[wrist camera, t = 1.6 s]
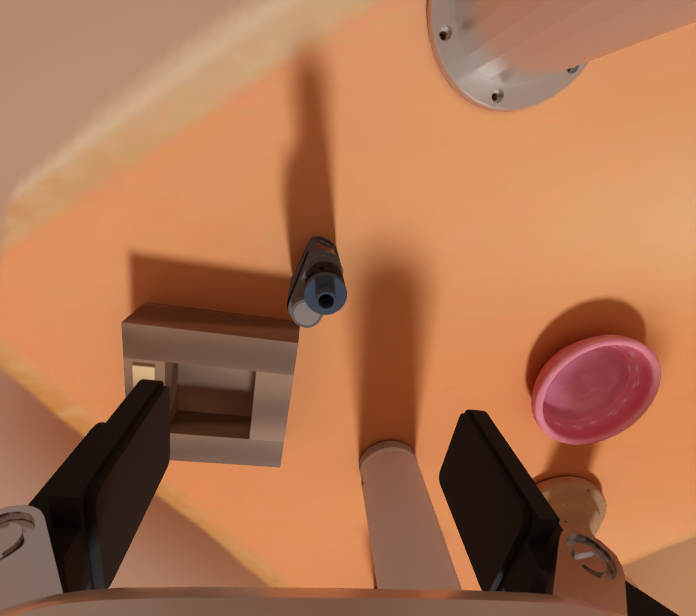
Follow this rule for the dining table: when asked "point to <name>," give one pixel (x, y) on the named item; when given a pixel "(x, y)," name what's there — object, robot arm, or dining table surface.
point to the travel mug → (403, 522)
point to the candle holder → (576, 504)
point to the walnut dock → (216, 379)
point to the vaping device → (316, 284)
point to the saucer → (595, 388)
